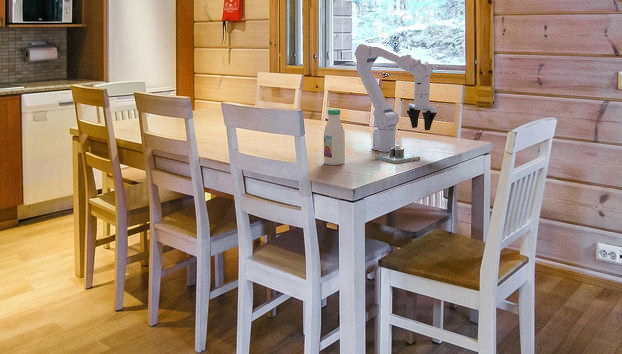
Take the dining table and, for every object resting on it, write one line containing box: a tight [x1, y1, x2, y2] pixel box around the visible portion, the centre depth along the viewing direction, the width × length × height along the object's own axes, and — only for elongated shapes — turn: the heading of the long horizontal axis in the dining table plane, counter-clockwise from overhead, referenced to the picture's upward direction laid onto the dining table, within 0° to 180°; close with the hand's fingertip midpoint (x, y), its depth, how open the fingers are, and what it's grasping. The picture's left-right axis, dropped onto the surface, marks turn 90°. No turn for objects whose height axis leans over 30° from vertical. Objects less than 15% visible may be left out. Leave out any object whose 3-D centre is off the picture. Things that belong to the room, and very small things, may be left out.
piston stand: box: [374, 144, 421, 164], centre depth 244 cm, size 12×12×5 cm
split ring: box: [389, 146, 405, 157], centre depth 244 cm, size 5×5×3 cm
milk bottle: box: [323, 108, 346, 166], centre depth 237 cm, size 8×8×20 cm
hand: (421, 128), depth 252 cm, fingers open, 7 cm apart
